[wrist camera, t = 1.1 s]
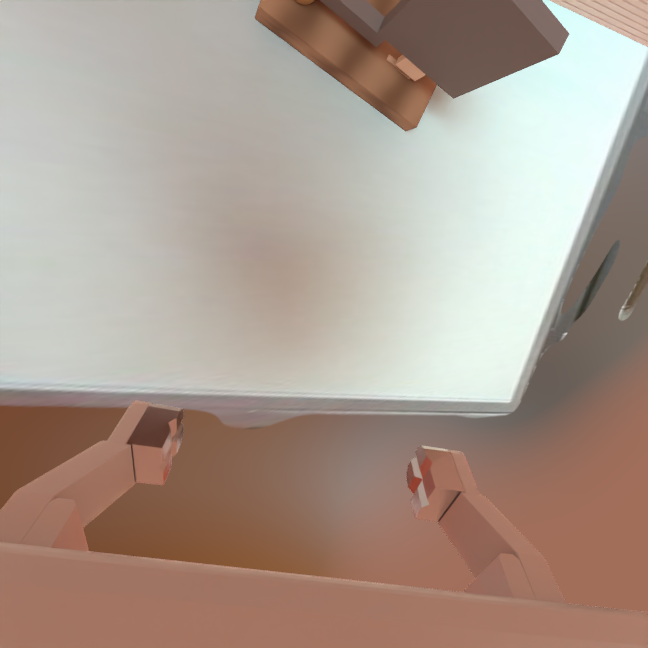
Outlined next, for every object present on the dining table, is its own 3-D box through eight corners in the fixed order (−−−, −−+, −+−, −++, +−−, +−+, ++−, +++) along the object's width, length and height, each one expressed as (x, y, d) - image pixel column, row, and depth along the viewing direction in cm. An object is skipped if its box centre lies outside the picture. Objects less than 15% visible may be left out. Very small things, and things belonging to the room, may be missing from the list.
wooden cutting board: (254, 18, 37) (258, 5, 34) (321, -155, 34) (330, -183, 32) (405, 131, 45) (417, 126, 43) (467, -1, 43) (483, -13, 41)
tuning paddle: (281, -11, 34) (343, -170, 20) (295, -45, 34) (368, -234, 19) (433, 112, 43) (553, 63, 28) (445, 86, 42) (574, 23, 28)
